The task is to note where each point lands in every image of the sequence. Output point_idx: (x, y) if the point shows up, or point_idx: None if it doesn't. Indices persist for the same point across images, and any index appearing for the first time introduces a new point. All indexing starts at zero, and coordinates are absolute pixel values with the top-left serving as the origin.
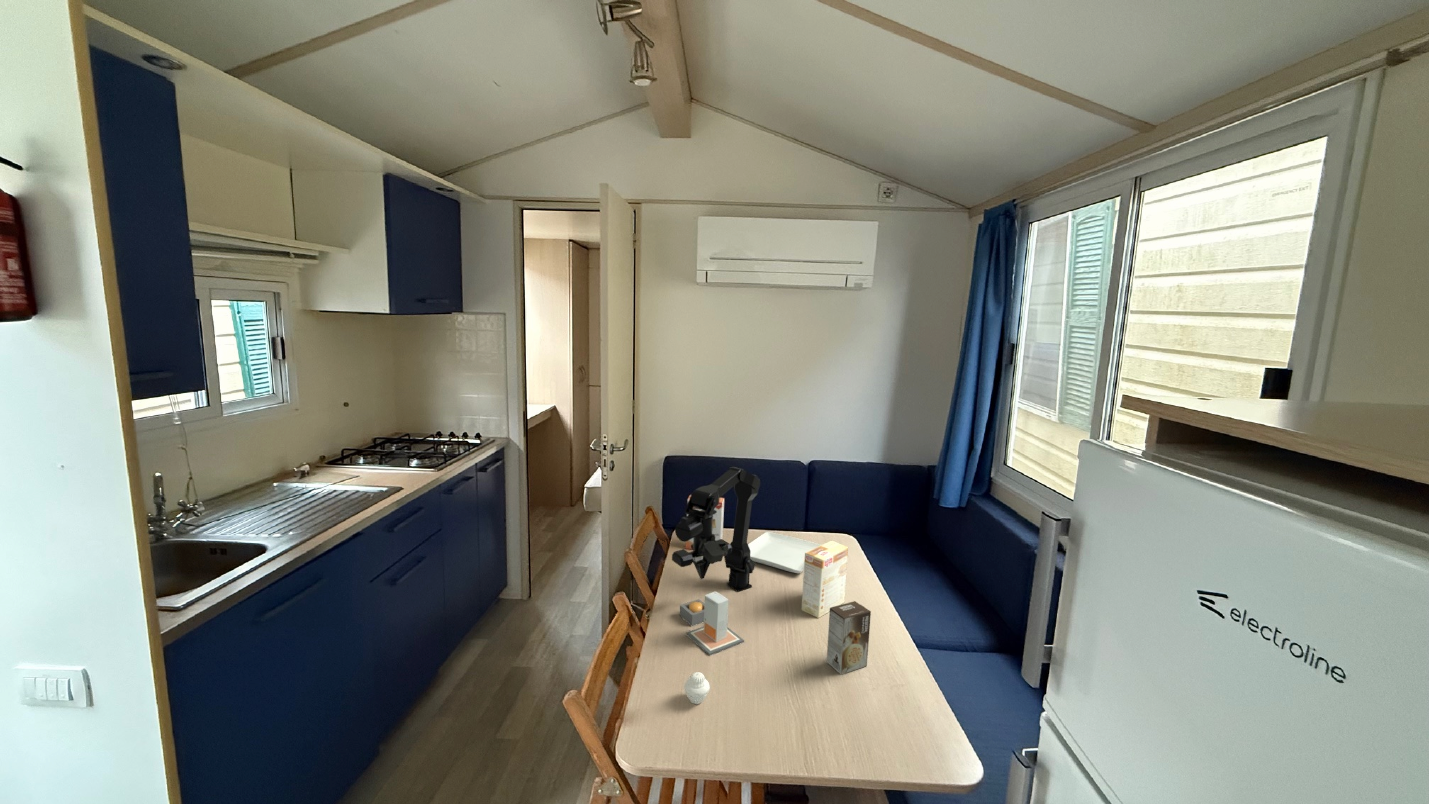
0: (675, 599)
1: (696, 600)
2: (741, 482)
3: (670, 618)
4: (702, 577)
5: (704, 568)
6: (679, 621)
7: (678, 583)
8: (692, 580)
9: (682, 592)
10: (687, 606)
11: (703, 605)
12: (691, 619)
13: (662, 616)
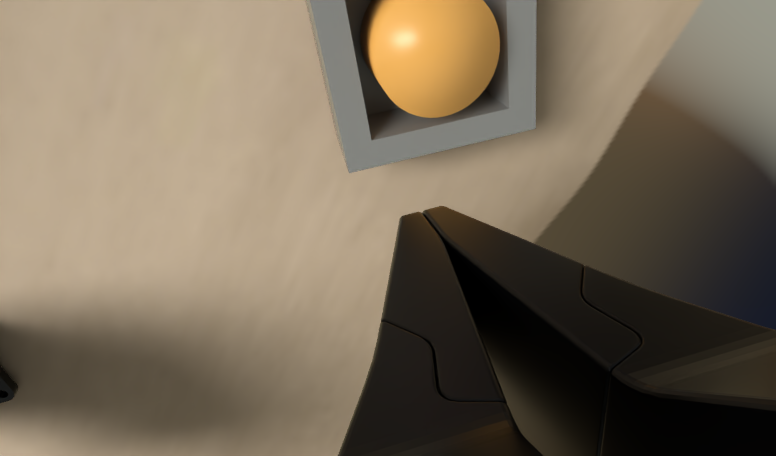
0: None
1: (378, 156)
2: None
3: (568, 86)
4: (442, 216)
5: (476, 329)
6: (536, 23)
7: (342, 424)
8: (251, 442)
9: (358, 345)
10: (472, 109)
11: (352, 52)
12: None
13: (596, 127)
